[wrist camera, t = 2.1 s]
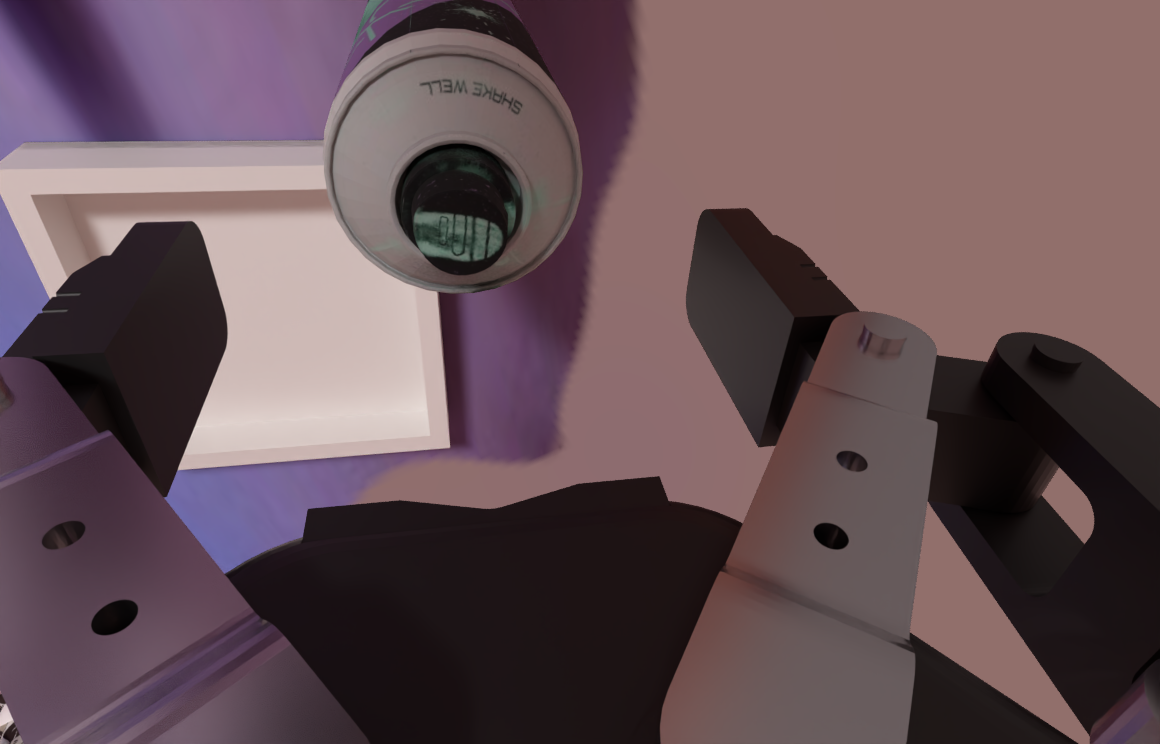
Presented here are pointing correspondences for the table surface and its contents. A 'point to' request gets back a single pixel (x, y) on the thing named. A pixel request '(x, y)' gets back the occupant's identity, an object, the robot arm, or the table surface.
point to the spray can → (450, 146)
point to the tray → (254, 291)
